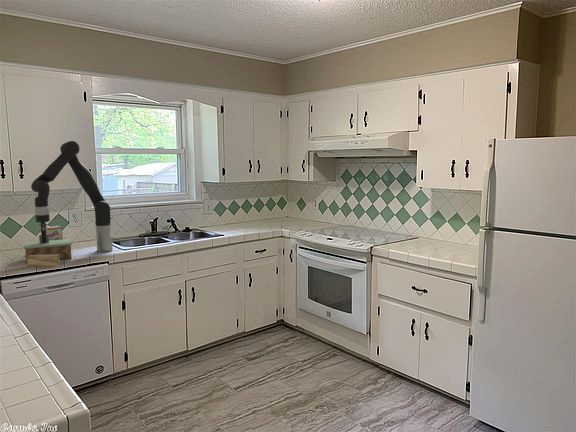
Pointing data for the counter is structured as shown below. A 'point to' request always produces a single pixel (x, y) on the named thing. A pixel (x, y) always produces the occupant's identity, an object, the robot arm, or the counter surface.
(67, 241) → the lid
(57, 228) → the candy bar box
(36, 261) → the tan block
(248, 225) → the counter surface
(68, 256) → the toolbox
